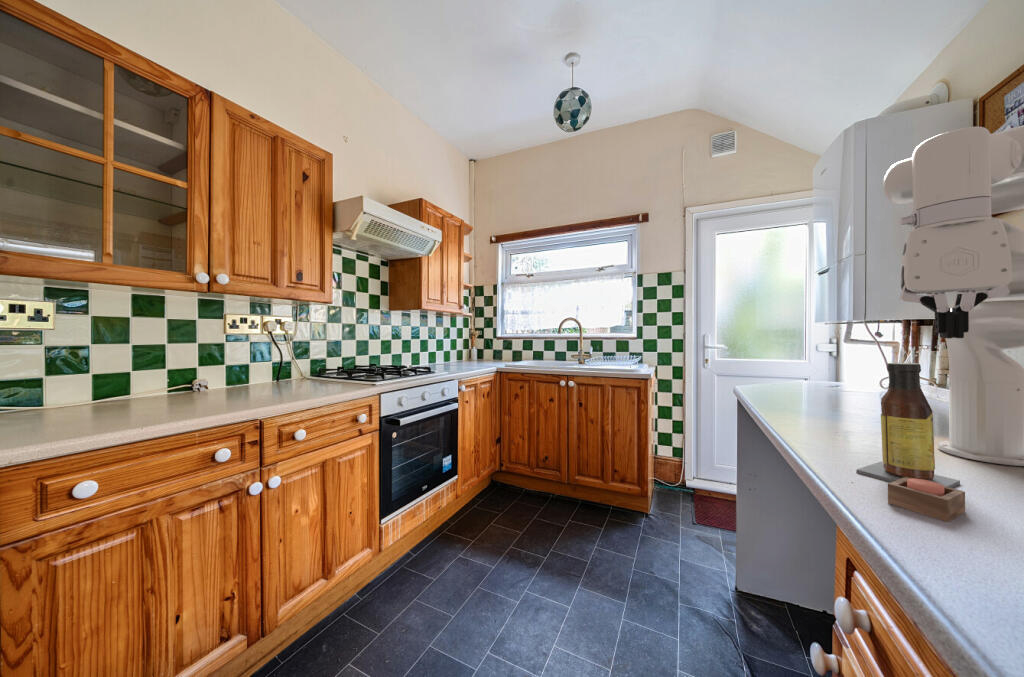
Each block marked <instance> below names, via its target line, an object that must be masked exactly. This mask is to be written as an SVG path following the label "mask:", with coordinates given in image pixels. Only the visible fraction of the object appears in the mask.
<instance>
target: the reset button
mask: <svg viewBox="0 0 1024 677" xmlns="http://www.w3.org/2000/svg"><path fill="white" fill-rule="evenodd" d="M907 487H908V488H911V489H915V490H919V491H922V492H926V493H930V494H933V495H937V496H941V497H942V496H944V486H943V485H941V484H939V483H936V482H932V481H928V480H923V479H915V478H910V479H907Z"/></svg>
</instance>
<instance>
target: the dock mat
mask: <svg viewBox="0 0 1024 677" xmlns="http://www.w3.org/2000/svg"><path fill="white" fill-rule="evenodd" d="M883 465H884V462H883V461H878V462H874V463H872V464H869V465H866V466H862V467H860V468H857V469H856V470H855V471H856V474H860V475H862V476H868V477H872V478H875V479H878V480H882V481H886V482H888V483H891V482H894V481H896V480H899V479H901V478H904V477H900V476H896V475H893V474H891V473H889V472H887V471H886V470H885V469H884V467H883ZM928 481H932V482H936V483H939V484H941V485H943V486H945V487H949V488H953V489H954V488H955V487H957V486H959V485H961V480H960V479H956V478H951V477H946V476H943V475H938V474H935V473H934V478H933V479H931V480H928Z"/></svg>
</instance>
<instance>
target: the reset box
mask: <svg viewBox="0 0 1024 677" xmlns="http://www.w3.org/2000/svg"><path fill="white" fill-rule="evenodd" d="M907 479H910V477H904V478H901V479H899V480H896V481H894V482H888V483H887V504H888V505H892V504H893V505H892V506H896V507H899V508H902V509H905V510H908V511H912V512H914V513H918V514H921V515H924V516H927V517H928V516H929V517H931V518H934V519H938V520H939V521H943V522H947V523H949V522H950V521H952V520H953V519H956V518H957V517H959V516H961V515H963V514H964V513H965V514H966V491H963V490H959V489H956V488H954V487H953V488H949V487H945V486H944V496H942V497H941V496H937V495H933V494H930V493H926V492H922V491H919V490H915V489H911V488H908V487H907Z"/></svg>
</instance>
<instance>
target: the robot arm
mask: <svg viewBox="0 0 1024 677" xmlns="http://www.w3.org/2000/svg"><path fill="white" fill-rule="evenodd" d="M882 186H883V187H882V188H883V194H884V196H885V197H886V199H887V200H888V201H889V202H890V203H891V204H895V205H906V204H911V203H912V213H911V214H910V215H907V216H905V217H900V218H899V226H900V227H904V226H905V227H906V226H907V227H909V228H911V231H909V232H908V233H907V235H906V237H905V242H904V246H903V252H902V258H901V266H900V267H901V269H900V288H901V293H900V296H899V301H900V302H902V303H903V302H904V303H905V302H906V303H913V304H921V305H922V306H924V307H925V308H927V309H928V310H930V311H931V312H933V313H934V332H935V333H936V334H939V338H941V339H944V340H945V343H946V348H947V356H948V426H949V427H948V439H949V440H944V441H943V440H942V441H939V442H938V443H937V448H938V449H939V450H940V451H942V452H944V453H947V454H950V455H953V456H956V457H960V458H965V459H969V460H972V461H973V460H974V461H979V462H984V463H990V464H998V465H1006V466H1016V467H1024V367H1023V366H1022V365H1021V364H1020V363H1019V362H1018V361H1016V360H1015V359H1013V358H1012V357H1010V355H1007V353H1005V352H1004V350H1024V230H1023V229H1021V228H1020V227H1018V226H1016V225H1014V224H1012V223H1010V222H1008V221H1005V220H1002V218H997V217H993V216H992V215H996V214H1001V213H1007V212H1014V211H1019V210H1023V209H1024V125H1019V126H1016V127H1013V128H1010V129H1005V130H1003V131H999V132H995V133H990V131H989V129H987V128H986V127H984V126H969V127H968V126H967V127H963V128H958V129H953V130H949V131H946V132H943V133H940V134H938V135H935V136H933V137H930V138H927V139H926V140H924V141H923V142H921V143H920V144H919V145H917V146H916V147H915V149H914V151H913V153H912V156H911V157H910V158H906V159H904V160H900V161H897V162H896V163H894V164H892V165H891V166H890V167H889V168H888V170H887V171H886V174H885V175H884V178H883V185H882ZM952 292H956V293H955V298H954V302H953V307H951V308H950V306H949V303H948V299H947V294H946V293H952ZM920 294H921V295H920ZM923 294H926V295H923Z"/></svg>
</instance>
